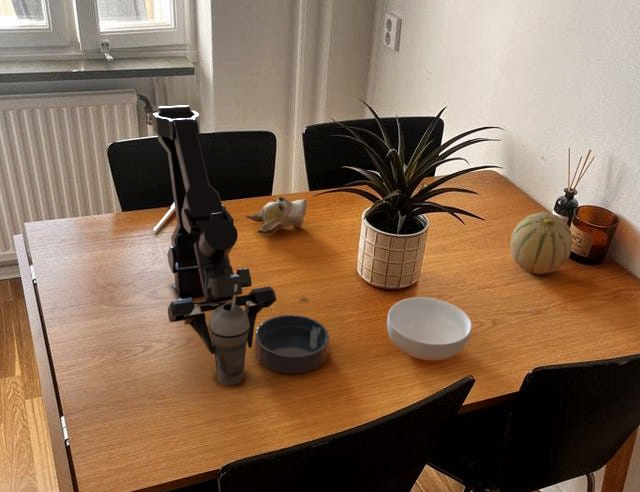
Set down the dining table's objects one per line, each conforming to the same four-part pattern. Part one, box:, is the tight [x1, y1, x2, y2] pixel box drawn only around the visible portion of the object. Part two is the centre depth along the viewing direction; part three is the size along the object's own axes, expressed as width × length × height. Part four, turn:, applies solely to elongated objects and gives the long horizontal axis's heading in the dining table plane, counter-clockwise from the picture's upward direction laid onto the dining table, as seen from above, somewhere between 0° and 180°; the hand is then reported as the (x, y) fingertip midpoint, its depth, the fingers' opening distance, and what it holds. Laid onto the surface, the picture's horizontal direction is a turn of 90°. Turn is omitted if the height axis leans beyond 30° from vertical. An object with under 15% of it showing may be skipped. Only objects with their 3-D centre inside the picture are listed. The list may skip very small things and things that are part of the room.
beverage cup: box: [207, 284, 250, 386], centre depth 124 cm, size 7×7×20 cm
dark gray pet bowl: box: [254, 314, 330, 375], centre depth 136 cm, size 14×14×4 cm
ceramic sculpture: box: [245, 196, 307, 235], centre depth 180 cm, size 11×9×15 cm
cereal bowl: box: [386, 296, 473, 361], centre depth 141 cm, size 17×17×7 cm
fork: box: [152, 202, 175, 233], centre depth 182 cm, size 3×20×2 cm, turn 170°
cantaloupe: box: [509, 211, 573, 275], centre depth 170 cm, size 15×15×15 cm
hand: (231, 350), depth 125 cm, fingers closed on beverage cup, 6 cm apart
